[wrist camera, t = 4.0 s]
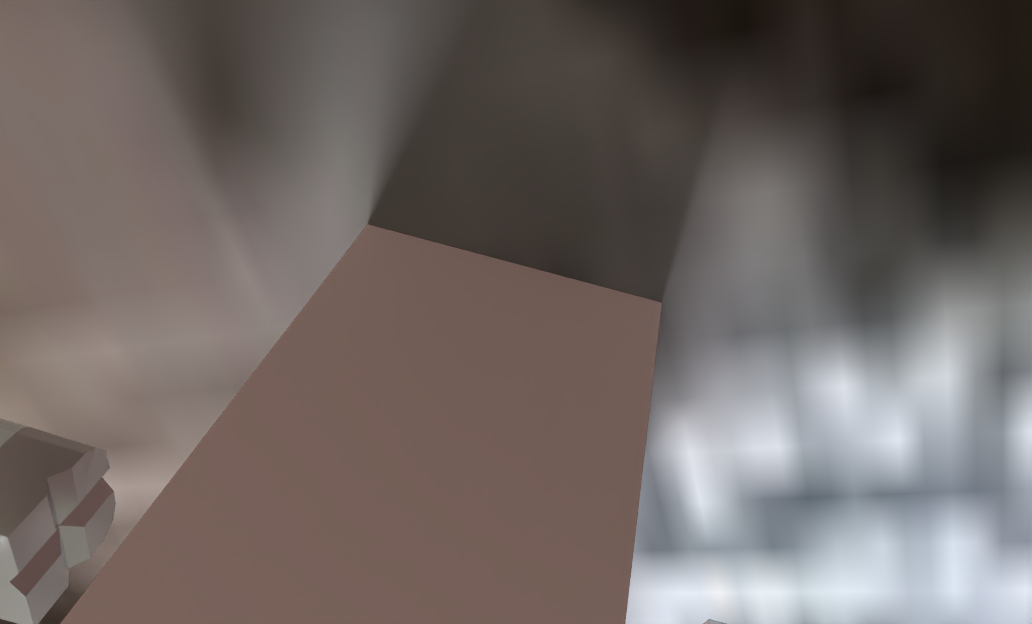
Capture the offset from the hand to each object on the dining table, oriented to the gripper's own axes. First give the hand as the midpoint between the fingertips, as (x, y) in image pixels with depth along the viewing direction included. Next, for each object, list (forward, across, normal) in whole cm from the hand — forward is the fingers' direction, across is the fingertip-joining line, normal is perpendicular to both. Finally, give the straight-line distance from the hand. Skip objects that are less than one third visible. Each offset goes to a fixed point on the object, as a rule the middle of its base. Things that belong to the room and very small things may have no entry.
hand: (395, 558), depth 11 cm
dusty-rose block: (+4, 0, 0) cm, 4 cm away
